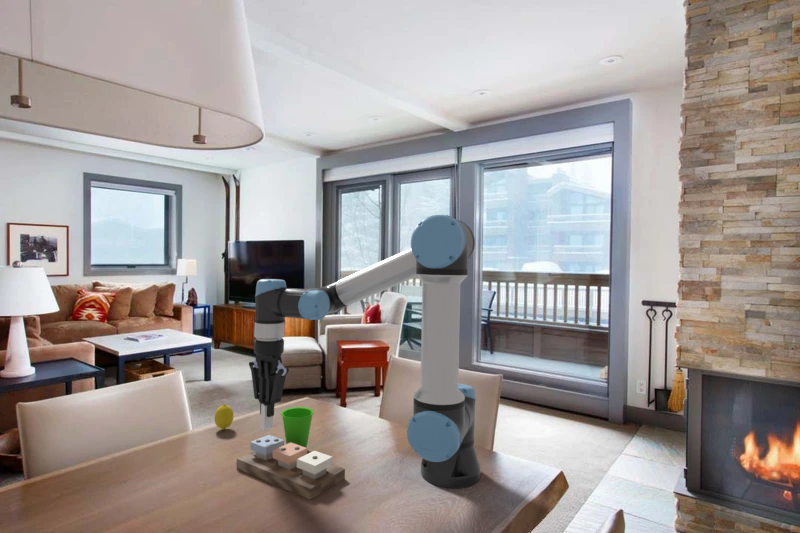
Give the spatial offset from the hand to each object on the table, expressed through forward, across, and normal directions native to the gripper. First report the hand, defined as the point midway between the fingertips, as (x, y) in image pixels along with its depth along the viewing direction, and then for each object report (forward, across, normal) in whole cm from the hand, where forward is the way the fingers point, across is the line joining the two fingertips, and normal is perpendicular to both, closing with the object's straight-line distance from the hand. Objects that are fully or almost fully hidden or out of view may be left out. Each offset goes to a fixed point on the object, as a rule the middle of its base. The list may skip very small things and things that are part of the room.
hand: (266, 427), depth 119 cm
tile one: (+8, -17, 0) cm, 19 cm away
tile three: (+8, 0, 0) cm, 8 cm away
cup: (+10, 0, -11) cm, 15 cm away
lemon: (+10, +29, -8) cm, 32 cm away
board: (+10, -9, 0) cm, 13 cm away
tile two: (+8, -9, 0) cm, 12 cm away
